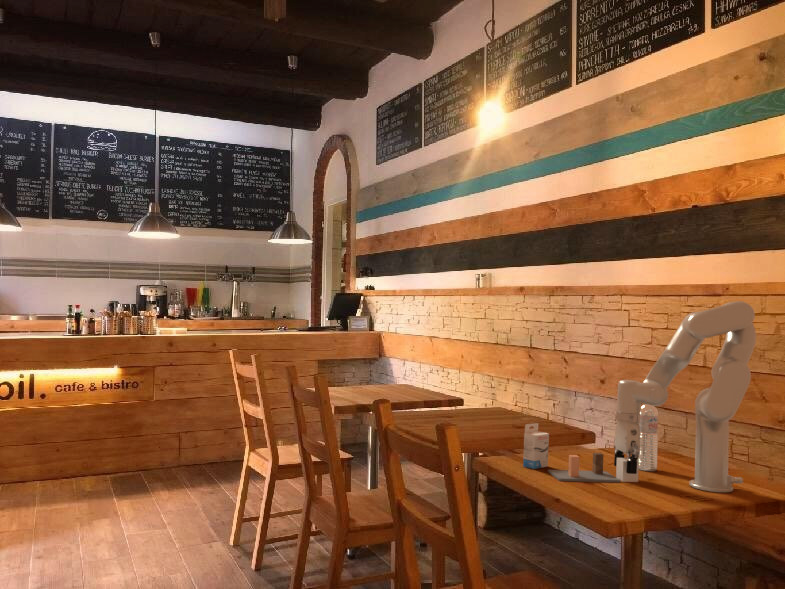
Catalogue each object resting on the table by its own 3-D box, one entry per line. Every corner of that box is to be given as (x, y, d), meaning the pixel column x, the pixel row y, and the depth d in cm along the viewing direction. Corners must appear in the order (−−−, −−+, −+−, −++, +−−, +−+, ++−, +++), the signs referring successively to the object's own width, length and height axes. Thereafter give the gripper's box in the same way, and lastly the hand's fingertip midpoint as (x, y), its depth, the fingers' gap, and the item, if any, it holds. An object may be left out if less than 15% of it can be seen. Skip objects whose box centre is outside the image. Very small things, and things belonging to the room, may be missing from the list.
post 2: (599, 472, 221) (600, 452, 222) (602, 474, 219) (603, 454, 219) (592, 472, 221) (593, 452, 221) (595, 473, 219) (595, 454, 219)
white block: (631, 478, 218) (631, 458, 218) (638, 481, 213) (638, 461, 213) (616, 477, 218) (616, 457, 218) (622, 481, 213) (623, 461, 213)
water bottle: (653, 468, 235) (655, 398, 236) (659, 472, 228) (661, 400, 229) (633, 466, 236) (635, 397, 237) (639, 471, 229) (641, 399, 230)
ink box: (534, 469, 225) (536, 426, 225) (522, 466, 229) (524, 424, 229) (548, 466, 231) (549, 424, 231) (536, 463, 234) (537, 422, 235)
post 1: (576, 475, 216) (576, 455, 216) (578, 476, 213) (579, 456, 213) (568, 474, 216) (568, 454, 216) (570, 476, 213) (571, 456, 213)
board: (605, 473, 223) (605, 471, 223) (620, 482, 211) (620, 480, 211) (548, 472, 222) (548, 469, 222) (559, 481, 210) (559, 478, 210)
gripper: (651, 422, 208) (647, 477, 207) (628, 414, 225) (625, 464, 225) (628, 421, 207) (624, 475, 207) (606, 412, 225) (603, 463, 224)
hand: (625, 469), depth 216 cm, fingers open, 9 cm apart
